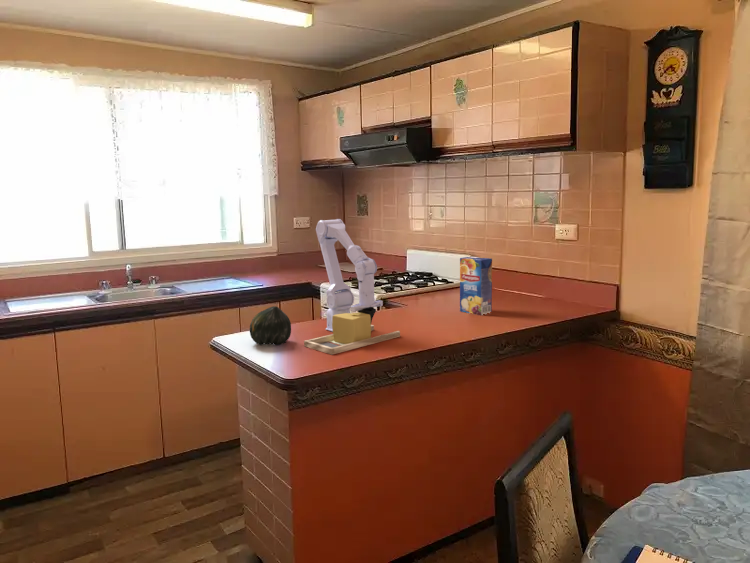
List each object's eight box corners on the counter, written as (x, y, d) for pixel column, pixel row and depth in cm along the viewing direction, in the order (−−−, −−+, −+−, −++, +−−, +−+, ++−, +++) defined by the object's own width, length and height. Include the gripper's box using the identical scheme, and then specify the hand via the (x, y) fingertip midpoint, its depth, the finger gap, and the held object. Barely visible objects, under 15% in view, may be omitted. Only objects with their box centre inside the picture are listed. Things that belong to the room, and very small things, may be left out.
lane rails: (304, 346, 219) (303, 340, 219) (371, 329, 241) (371, 324, 241) (331, 354, 207) (331, 349, 207) (400, 336, 230) (400, 331, 229)
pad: (328, 341, 225) (328, 341, 225) (353, 335, 233) (353, 335, 233) (351, 348, 215) (351, 347, 215) (376, 341, 223) (376, 341, 223)
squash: (245, 325, 229) (250, 301, 218) (283, 322, 235) (290, 298, 224) (251, 357, 221) (257, 333, 210) (291, 353, 227) (299, 329, 216)
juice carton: (491, 312, 267) (492, 258, 263) (480, 315, 262) (481, 260, 258) (470, 308, 276) (470, 256, 272) (459, 311, 271) (459, 258, 267)
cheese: (351, 336, 231) (350, 310, 230) (372, 340, 224) (372, 314, 223) (332, 341, 224) (331, 315, 222) (353, 346, 217) (353, 319, 215)
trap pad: (309, 346, 219) (309, 345, 219) (326, 342, 224) (326, 341, 224) (332, 353, 209) (332, 352, 209) (349, 348, 215) (349, 348, 214)
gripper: (359, 296, 218) (360, 332, 221) (387, 290, 228) (388, 325, 230) (346, 293, 224) (347, 329, 226) (375, 288, 233) (375, 322, 235)
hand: (367, 327), depth 228 cm, fingers closed
